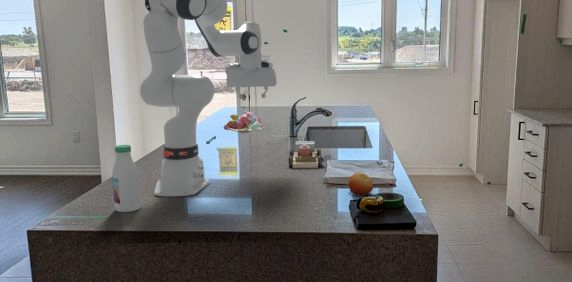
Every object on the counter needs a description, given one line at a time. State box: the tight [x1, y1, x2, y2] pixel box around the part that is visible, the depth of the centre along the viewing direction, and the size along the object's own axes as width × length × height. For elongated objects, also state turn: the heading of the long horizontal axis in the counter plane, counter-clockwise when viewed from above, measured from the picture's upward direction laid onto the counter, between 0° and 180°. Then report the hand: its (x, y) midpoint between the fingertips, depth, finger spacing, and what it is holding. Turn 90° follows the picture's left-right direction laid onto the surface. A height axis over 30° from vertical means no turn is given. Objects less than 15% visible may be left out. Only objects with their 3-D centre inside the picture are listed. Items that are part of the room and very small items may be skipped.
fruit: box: [348, 172, 374, 197], centre depth 168 cm, size 8×8×8 cm
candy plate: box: [223, 110, 265, 133], centre depth 298 cm, size 25×24×9 cm
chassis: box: [288, 140, 323, 169], centre depth 212 cm, size 20×13×7 cm, turn 178°
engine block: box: [300, 145, 310, 156], centre depth 209 cm, size 5×4×6 cm
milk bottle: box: [111, 144, 142, 213], centre depth 157 cm, size 8×8×20 cm
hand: (252, 98), depth 208 cm, fingers open, 8 cm apart
